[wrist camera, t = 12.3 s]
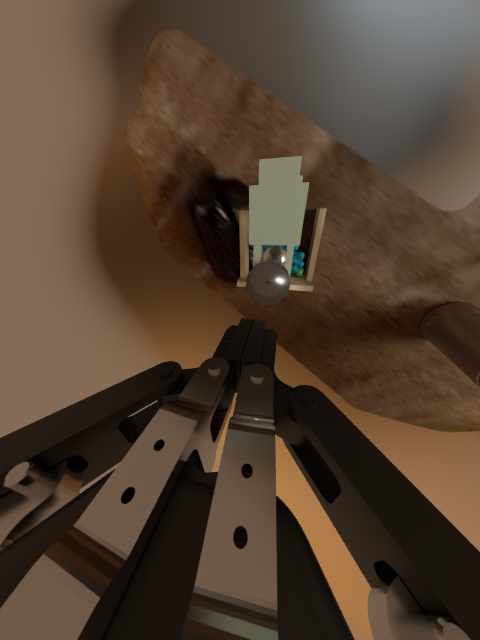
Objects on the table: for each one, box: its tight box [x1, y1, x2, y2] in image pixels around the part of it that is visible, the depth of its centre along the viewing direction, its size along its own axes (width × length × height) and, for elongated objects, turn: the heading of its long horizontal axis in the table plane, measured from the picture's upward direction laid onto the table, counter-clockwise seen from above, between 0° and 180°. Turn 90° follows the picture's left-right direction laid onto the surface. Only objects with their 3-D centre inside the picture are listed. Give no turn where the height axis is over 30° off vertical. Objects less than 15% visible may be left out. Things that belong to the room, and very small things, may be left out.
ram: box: [246, 246, 290, 305], centre depth 22 cm, size 4×4×11 cm
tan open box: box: [237, 208, 327, 291], centre depth 33 cm, size 14×13×7 cm
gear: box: [263, 245, 306, 276], centre depth 34 cm, size 11×6×10 cm
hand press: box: [249, 156, 309, 277], centre depth 27 cm, size 6×13×17 cm, turn 1°
